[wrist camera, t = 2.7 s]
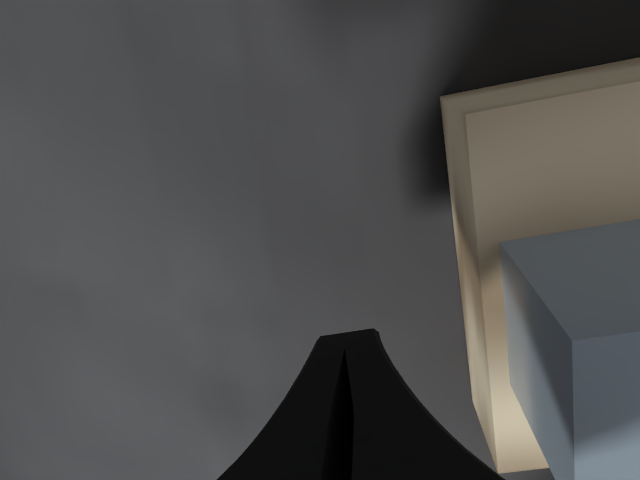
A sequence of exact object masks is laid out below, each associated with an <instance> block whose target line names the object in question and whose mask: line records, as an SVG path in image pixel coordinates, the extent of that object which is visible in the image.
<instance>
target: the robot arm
mask: <svg viewBox="0 0 640 480" xmlns="http://www.w3.org/2000/svg"><path fill="white" fill-rule="evenodd" d="M217 480H505V479H504V478H502V477H501V476H499V475H498V474H497V473H496V472H494V471H493V470H492V469H491V468H489V467H488V466H487V465H486V464H484V463H483V462H482V461H481V460H479V459H478V458H477V457H476V456H475V455H473V454H472V453H471V452H470V451H468V450H467V449H466V448H465V447H464V446H463V445H462V444H460V443H459V442H458V441H457V440H456V439H455V438H454V437H453V436H452V435H451V434H450V433H449V432H448V431H447V430H446V429H445V428H444V427H443V426H442V425H441V424H440V423H439V422H438V421H437V420H436V419H435V418H434V417H433V416H432V415H431V414H430V413H429V411H428V410H427V409H426V408H425V407H424V406H423V404H422V403H421V402H420V401H419V400H418V398H417V397H416V396H415V395H414V393H413V392H412V391H411V389H410V388H409V387H408V385H407V384H406V383H405V381H404V380H403V378H402V377H401V375H400V374H399V372H398V371H397V370H396V368H395V367H394V365H393V363H392V362H391V360H390V358H389V356H388V355H387V353H386V351H385V349H384V347H383V344H382V342H381V339H380V335H379V332H378V331H376V330H375V329H373V328H372V329H366V330H359V331H353V332H346V333H339V334H333V335H326V336H320V338H319V339H318V340H317V341H316V343H315V345H314V347H313V349H312V351H311V353H310V355H309V357H308V359H307V361H306V363H305V365H304V366H303V368H302V370H301V372H300V374H299V375H298V377H297V379H296V380H295V382H294V383H293V385H292V387H291V388H290V390H289V392H288V393H287V395H286V397H285V398H284V400H283V401H282V403H281V404H280V405H279V407H278V408H277V410H276V411H275V413H274V414H273V415H272V417H271V418H270V420H269V421H268V423H267V424H266V425H265V427H264V428H263V429H262V431H261V432H260V433H259V434H258V436H257V437H256V438H255V439H254V441H253V442H252V443H251V444H250V445H249V447H248V448H247V449H246V450H245V451H244V452H243V454H242V455H241V456H240V457H239V458H238V459H237V460H236V461H235V462H234V463H233V464H232V465H231V466H230V467H229V468H228V469H227V470H226V471H225V472H224V473H223V474H222V475H221V476H220V477H219V478H218V479H217Z"/></svg>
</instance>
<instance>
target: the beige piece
mask: <svg viewBox="0 0 640 480" xmlns="http://www.w3.org/2000/svg"><path fill="white" fill-rule="evenodd" d="M440 103H441V112H442V122H443V131H444V140H445V149H446V159H447V168H448V177H449V186H450V196H451V205H452V214H453V223H454V233H455V242H456V251H457V260H458V269H459V279H460V288H461V297H462V306H463V316H464V325H465V334H466V343H467V353H468V362H469V371H470V380H471V389H472V399H473V403H474V406H475V409H476V412H477V415H478V418H479V420H480V423H481V426H482V429H483V432H484V435H485V438H486V440H487V443H488V446H489V449H490V452H491V455H492V458H493V460H494V463H495V466H496V469H497V472H498V473H507V472H516V471H524V470H533V469H542V468H549V466H548V463H547V461H546V459H545V457H544V455H543V453H542V451H541V449H540V447H539V444H538V442H537V440H536V438H535V436H534V434H533V432H532V430H531V427H530V425H529V423H528V421H527V419H526V417H525V415H524V413H523V410H522V408H521V406H520V404H519V402H518V400H517V398H516V396H515V394H514V391H513V389H512V387H511V385H510V377H509V363H508V350H507V336H506V323H505V309H504V296H503V282H502V269H501V255H500V242H502V241H509V240H515V239H521V238H527V237H533V236H539V235H545V234H552V233H558V232H564V231H570V230H576V229H582V228H589V227H595V226H601V225H607V224H613V223H619V222H626V221H632V220H638V219H640V57H639V58H634V59H628V60H623V61H618V62H613V63H608V64H603V65H598V66H593V67H587V68H582V69H577V70H572V71H567V72H562V73H557V74H552V75H546V76H541V77H536V78H531V79H526V80H521V81H516V82H511V83H505V84H500V85H495V86H490V87H485V88H480V89H475V90H470V91H464V92H459V93H454V94H449V95H444V96H440Z"/></svg>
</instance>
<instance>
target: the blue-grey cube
mask: <svg viewBox="0 0 640 480" xmlns="http://www.w3.org/2000/svg"><path fill="white" fill-rule="evenodd" d="M500 255H501V269H502V282H503V296H504V309H505V323H506V336H507V350H508V363H509V377H510V385H511V387H512V389H513V391H514V394H515V396H516V398H517V400H518V402H519V404H520V406H521V408H522V410H523V413H524V415H525V417H526V419H527V421H528V423H529V425H530V427H531V430H532V432H533V434H534V436H535V438H536V440H537V442H538V444H539V447H540V449H541V451H542V453H543V455H544V457H545V459H546V461H547V463H548V466H549V468H550V470H551V472H552V474H553V476H554V478H555V480H640V219H638V220H632V221H626V222H619V223H613V224H607V225H601V226H595V227H589V228H582V229H576V230H570V231H564V232H558V233H552V234H545V235H539V236H533V237H527V238H521V239H515V240H509V241H502V242H500Z"/></svg>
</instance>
